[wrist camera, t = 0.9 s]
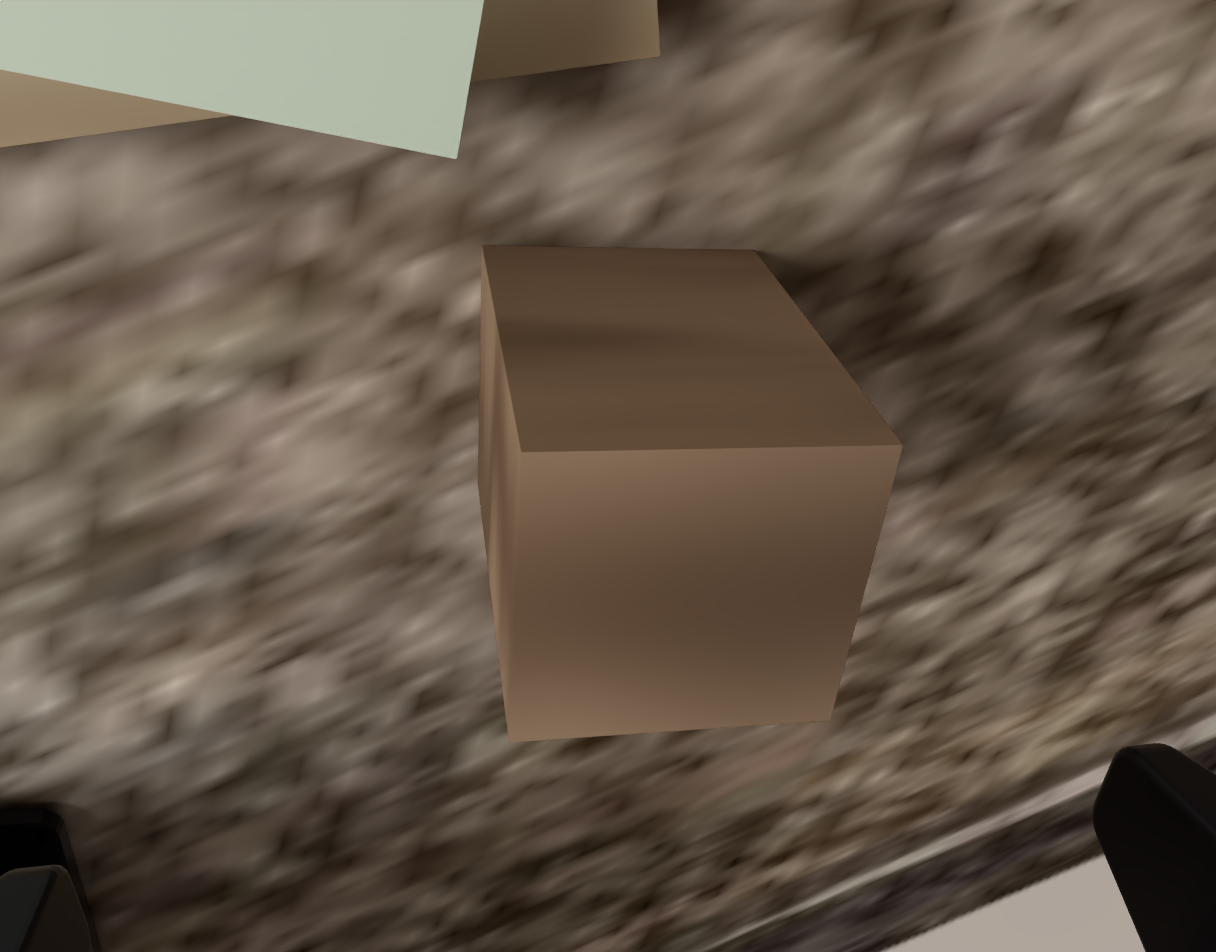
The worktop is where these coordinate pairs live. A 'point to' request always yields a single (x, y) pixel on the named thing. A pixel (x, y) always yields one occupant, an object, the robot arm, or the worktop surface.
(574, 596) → the walnut block
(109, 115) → the maple slab
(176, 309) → the worktop surface
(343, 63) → the sage slab
